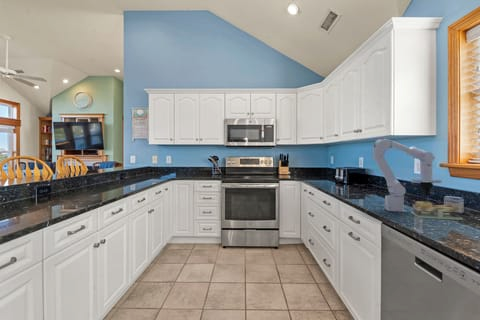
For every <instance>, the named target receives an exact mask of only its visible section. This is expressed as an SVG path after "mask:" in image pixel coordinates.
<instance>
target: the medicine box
mask: <svg viewBox="0 0 480 320" xmlns="http://www.w3.org/2000/svg"><path fill="white" fill-rule="evenodd" d="M464 198H465V197H459V196H452V195H451V196H450V195H446V196H443V205H454V206H456V207H459V208H461V212H455V213H456V214H463V213H464V212H465V208H464V205H465V204H464V203H465V199H464Z"/></svg>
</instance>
